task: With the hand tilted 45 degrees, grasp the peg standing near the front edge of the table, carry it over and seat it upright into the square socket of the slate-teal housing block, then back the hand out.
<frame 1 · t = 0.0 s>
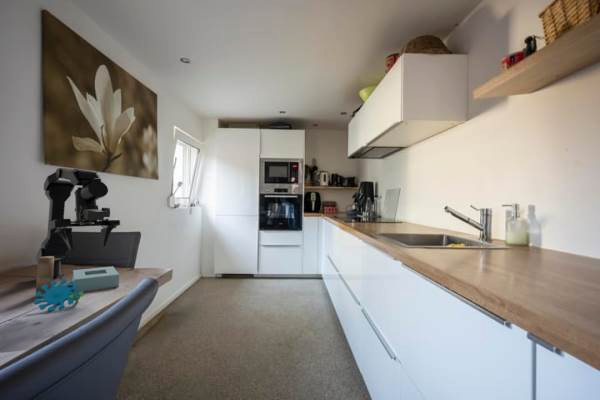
hand: (88, 248, 93), 15 cm above the table, tool pointing down, fingers open, 9 cm apart
gear: (59, 308, 81), on the table
housing: (95, 284, 104), on the table
peg: (44, 295, 90), on the table
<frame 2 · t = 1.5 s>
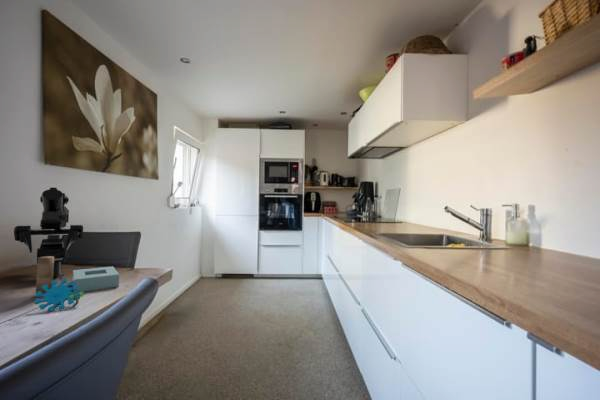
hand: (48, 251, 97), 13 cm above the table, tool tilted 45°, fingers open, 9 cm apart
nothing on the table moved.
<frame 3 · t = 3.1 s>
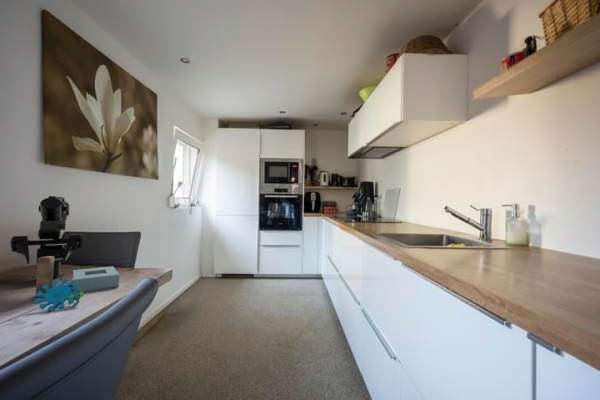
hand: (46, 261, 93), 10 cm above the table, tool tilted 45°, fingers open, 9 cm apart
nothing on the table moved.
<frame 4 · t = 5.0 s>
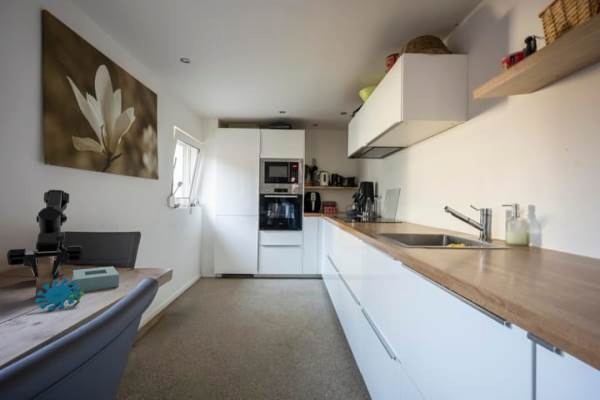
hand: (44, 276, 89), 7 cm above the table, tool tilted 45°, fingers closed on peg, 4 cm apart
peg: (43, 295, 90), on the table, touching gripper
everything else where it was.
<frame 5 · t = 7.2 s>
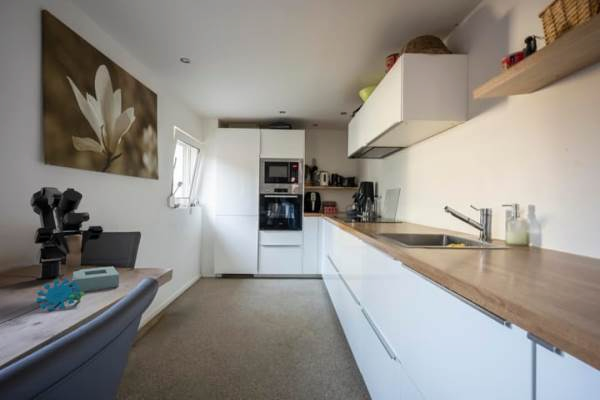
hand: (75, 252, 96), 13 cm above the table, tool tilted 45°, fingers closed on peg, 4 cm apart
peg: (72, 270, 97), point 7 cm above the table, touching gripper
everything else where it was.
when the fingers open (8 cm above the table, at t = 9.4 s): peg drops 2 cm, resting in housing.
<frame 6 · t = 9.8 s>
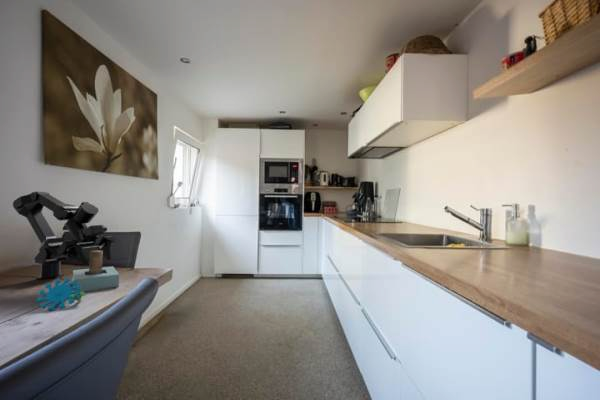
hand: (98, 262, 104), 9 cm above the table, tool tilted 45°, fingers open, 8 cm apart
peg: (94, 284, 104), resting in housing
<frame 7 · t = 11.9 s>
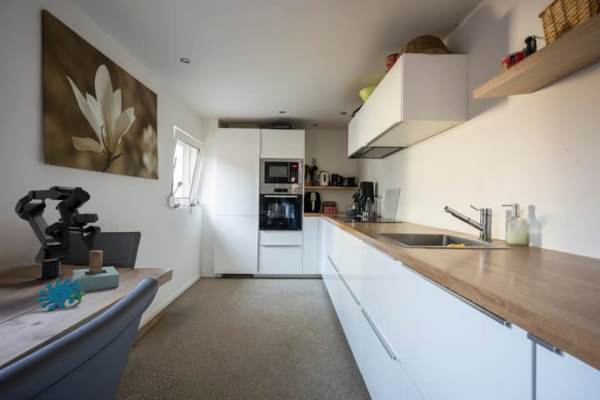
hand: (81, 249, 105), 13 cm above the table, tool tilted 30°, fingers open, 9 cm apart
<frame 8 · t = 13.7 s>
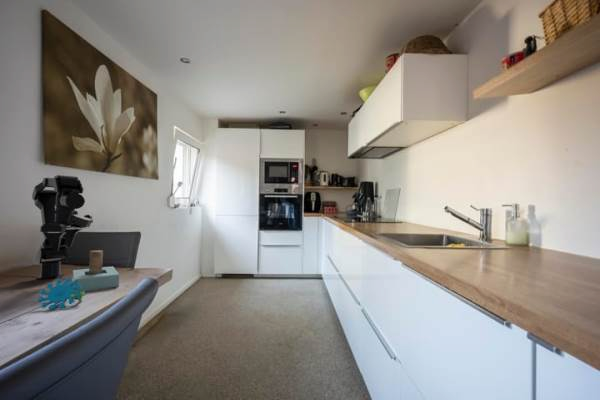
hand: (63, 248, 104), 13 cm above the table, tool pointing down, fingers open, 9 cm apart
at the end: peg 0.1 cm off-centre on the housing, point 0.0 cm above the housing's base; peg tilted 1°; the gripper is holding nothing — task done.
